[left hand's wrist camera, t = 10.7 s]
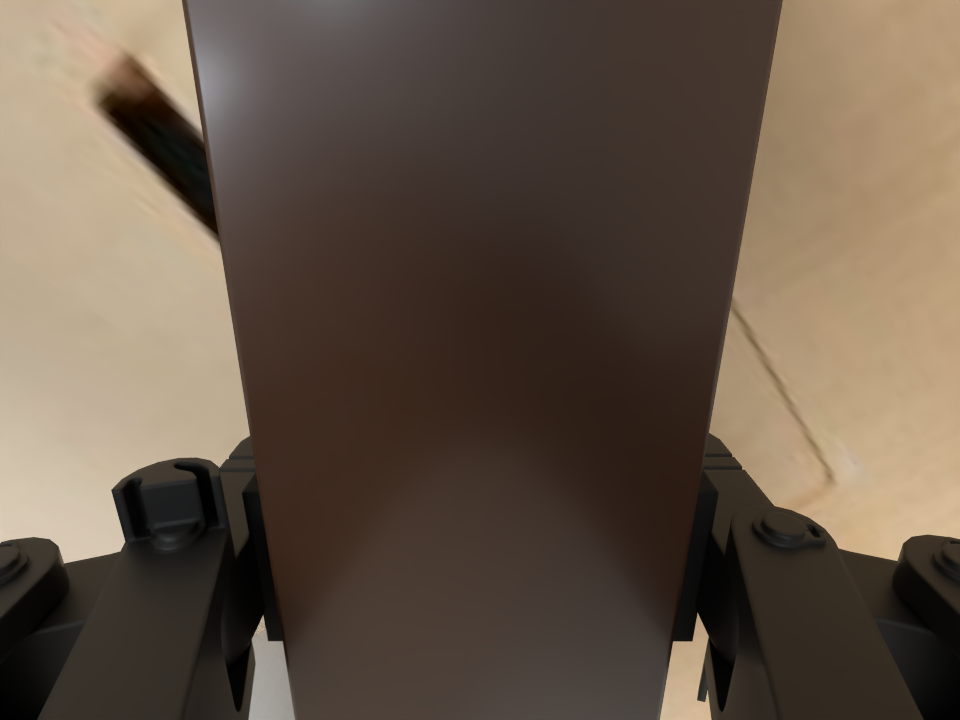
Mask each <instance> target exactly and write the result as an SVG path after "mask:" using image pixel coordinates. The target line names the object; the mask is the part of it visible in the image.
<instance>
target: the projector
mask: <svg viewBox="0 0 960 720" xmlns="http://www.w3.org/2000/svg"><path fill="white" fill-rule="evenodd" d="M252 643H253V648H254V654H255V662H256V665H255V673H254V681H253V689H252V696H251V704H250V712H249V720H295V717H294V711H293V704H292V698H291V691H290V685H289V679H288V672H287V666H286V660H285V653H284V647H283V641H268V638H267V632H266V629H265V630H263V631H262V632H260V633H259V634H258V635H256V636H255V637H254V638H253V639H252Z"/></svg>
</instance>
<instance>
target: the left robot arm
mask: <svg viewBox="0 0 960 720" xmlns="http://www.w3.org/2000/svg"><path fill="white" fill-rule="evenodd" d="M111 491H112V494H113V498H114V501H115V505H116V509H117V512H118V516H119V520H120V523H121V527H122V531H123V534H124V538H125V541H126V542H125V544H124V546H123V548H122V550H121V552H117V553H113V554H109V555H104V556H99V557H94V558H89V559H84V560H80V561H75V562H70V563H65V564H64V562H63V559H62V556H61V553H60V550H59V547H58V546H57V545H56V544H55V543H54V542H52V541H51V540H50V539H43V538H36V537H32V538H23V539H15V540H9V541H4V542H1V543H0V720H249V712H250V704H251V696H252V689H253V681H254V673H255V665H256V662H255V654H254V648H253V643H252V638H253V635H254V633H255V631H256V629H257V627H258V625H259V622H260V620H261V618H262V616H263V615H264V621H265V626H266V632H267V638H268V641H283V640H282V634H281V628H280V621H279V615H278V609H277V602H276V596H275V590H274V583H273V577H272V570H271V564H270V558H269V551H268V545H267V539H266V532H265V526H264V520H263V513H262V507H261V500H260V494H259V488H258V481H257V475H256V469H255V462H254V456H253V450H252V443H251V437H250V436H249V437H247V438H246V439H244V440H243V441H241V442H240V443H239V445H238V446H237V447H236V448H235V450H234V451H233V452H232V453H231V454H230V456H229V459H226V461H225V462H224V463H223V464H222V466H221V467H220V468H219V467H218V466H217V465H215V464H214V463H213V462H212V461H210V460H205V459H200V458H177V459H172V460H167V461H162V462H158V463H155V464H152V465H149V466H147V467H144V468H141V469H139V470H137V471H135V472H133V473H132V474H130V475H128V476H127V477H125V478H123V479H122V480H121V481H120V482H119V483H118V484H117V485H116V486H115V487H114V488H113V489H112V490H111ZM697 612H698V614H699V616H700V618H701V620H702V623H703V625H704V627H705V629H706V631H707V633H708V635H709V638H708V643H707V648H706V653H705V659H704V664H703V669H702V674H701V680H700V685H699V691H698V698H697V700H698V701H703V702H705V700H706V695H707V690H708V695H709V703H710V711H711V718H712V720H960V539H956V538H951V537H943V536H934V535H922V536H915V537H911V538H910V539H908V540H907V541H906V542H905V543H903V546H902V549H901V552H900V555H899V558H898V561H894V560H889V559H884V558H879V557H874V556H869V555H864V554H859V553H854V552H850V551H846V550H842V549H838V547H837V545H836V543H835V541H834V539H833V538H832V537H831V536H830V535H829V533H828V532H827V531H826V530H825V529H824V528H823V527H822V526H820V525H819V524H817V523H816V522H814V521H813V520H811V519H810V518H808V517H806V516H803V515H801V514H799V513H796V512H794V511H792V510H788V509H784V508H780V507H776V506H774V505H773V504H772V503H771V502H770V500H769V499H768V498H767V497H766V495H765V494H764V493H763V492H762V490H761V489H760V488H759V487H758V486H757V484H756V483H755V482H754V481H753V479H752V478H751V477H750V476H749V475H748V473H747V472H746V471H745V470H742V466H741V465H740V464H739V462H738V461H737V460H736V459H735V457H732V454H731V453H730V451H729V450H728V449H727V448H726V446H725V445H724V444H723V443H722V442H721V440H720V439H718V438H717V437H715V436H713V435H712V434H710V433H708V439H707V445H706V451H705V457H704V463H703V469H702V474H701V480H700V486H699V492H698V498H697V504H696V509H695V515H694V521H693V527H692V533H691V539H690V545H689V550H688V556H687V562H686V568H685V574H684V580H683V586H682V591H681V597H680V603H679V609H678V615H677V621H676V626H675V632H674V638H673V641H692V640H693V635H694V629H695V624H696V618H697Z"/></svg>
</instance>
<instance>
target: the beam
mask: <svg viewBox="0 0 960 720" xmlns="http://www.w3.org/2000/svg"><path fill="white" fill-rule="evenodd" d="M182 4H183V10H184V17H185V23H186V29H187V36H188V42H189V48H190V55H191V61H192V68H193V74H194V80H195V87H196V93H197V99H198V106H199V112H200V118H201V125H202V131H203V138H204V144H205V150H206V157H207V163H208V169H209V176H210V182H211V189H212V195H213V201H214V208H215V214H216V220H217V227H218V233H219V239H220V246H221V252H222V259H223V265H224V271H225V278H226V284H227V290H228V297H229V303H230V309H231V316H232V322H233V329H234V335H235V341H236V348H237V354H238V360H239V367H240V373H241V379H242V386H243V392H244V399H245V405H246V411H247V418H248V424H249V430H250V437H251V443H252V450H253V456H254V462H255V469H256V475H257V481H258V488H259V494H260V500H261V507H262V513H263V520H264V526H265V532H266V539H267V545H268V551H269V558H270V564H271V570H272V577H273V583H274V590H275V596H276V602H277V609H278V615H279V621H280V628H281V634H282V640H283V647H284V653H285V660H286V666H287V672H288V679H289V685H290V691H291V698H292V704H293V711H294V717H295V720H660V714H661V708H662V703H663V697H664V691H665V685H666V679H667V673H668V667H669V662H670V656H671V650H672V644H673V638H674V632H675V626H676V621H677V615H678V609H679V603H680V597H681V591H682V586H683V580H684V574H685V568H686V562H687V556H688V550H689V545H690V539H691V533H692V527H693V521H694V515H695V509H696V504H697V498H698V492H699V486H700V480H701V474H702V469H703V463H704V457H705V451H706V445H707V439H708V433H709V428H710V422H711V416H712V410H713V404H714V398H715V392H716V387H717V381H718V375H719V369H720V363H721V357H722V352H723V346H724V340H725V334H726V328H727V322H728V316H729V311H730V305H731V299H732V293H733V287H734V281H735V275H736V270H737V264H738V258H739V252H740V246H741V240H742V234H743V229H744V223H745V217H746V211H747V205H748V199H749V194H750V188H751V182H752V176H753V170H754V164H755V158H756V153H757V147H758V141H759V135H760V129H761V123H762V117H763V112H764V106H765V100H766V94H767V88H768V82H769V77H770V71H771V65H772V59H773V53H774V47H775V41H776V36H777V30H778V24H779V18H780V12H781V6H782V0H182Z"/></svg>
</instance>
